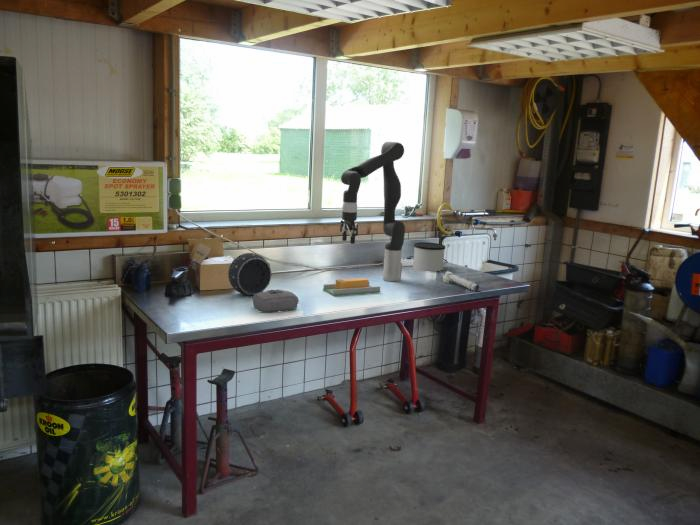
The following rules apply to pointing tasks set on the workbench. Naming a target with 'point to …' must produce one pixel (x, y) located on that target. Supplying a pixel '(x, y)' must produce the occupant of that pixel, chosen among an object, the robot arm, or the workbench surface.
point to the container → (428, 256)
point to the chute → (351, 283)
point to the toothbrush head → (460, 281)
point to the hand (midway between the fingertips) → (348, 242)
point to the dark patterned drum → (249, 274)
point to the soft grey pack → (275, 301)
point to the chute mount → (350, 290)
